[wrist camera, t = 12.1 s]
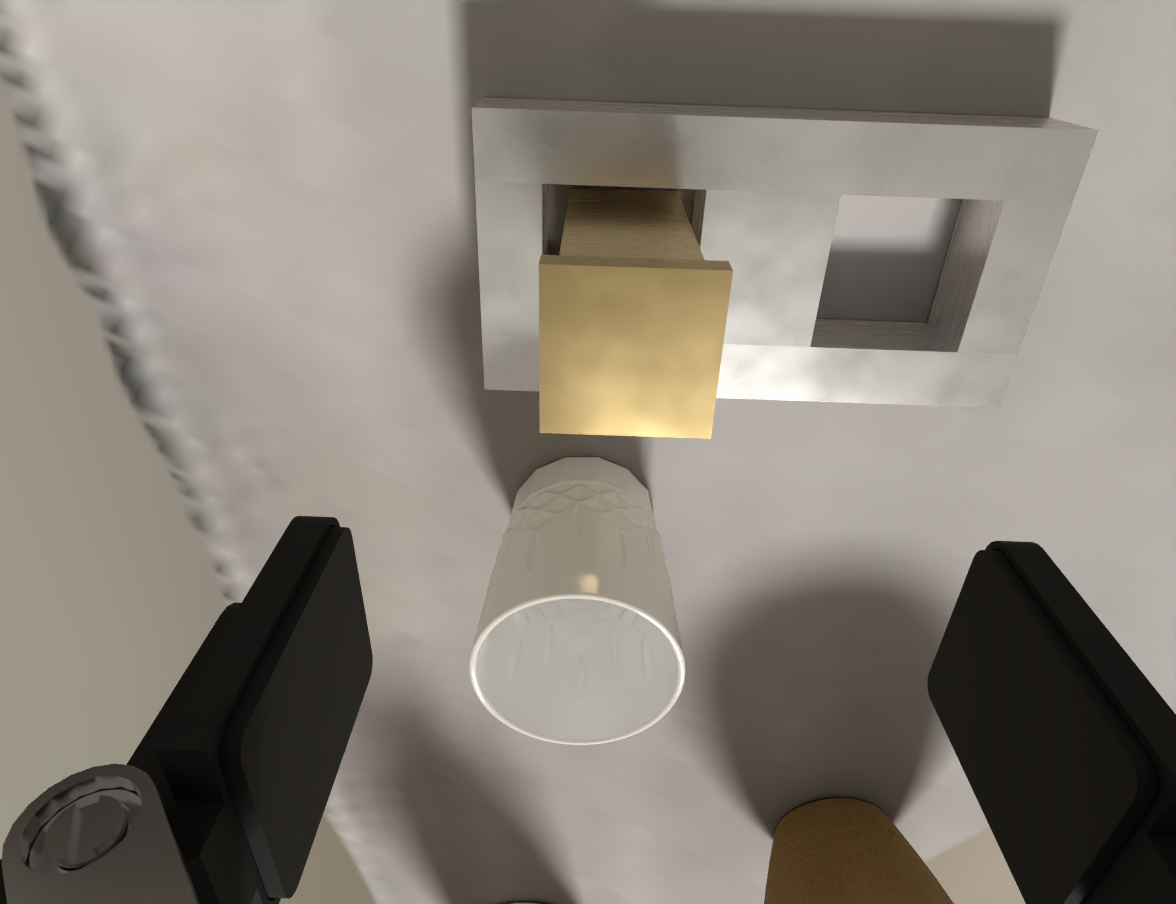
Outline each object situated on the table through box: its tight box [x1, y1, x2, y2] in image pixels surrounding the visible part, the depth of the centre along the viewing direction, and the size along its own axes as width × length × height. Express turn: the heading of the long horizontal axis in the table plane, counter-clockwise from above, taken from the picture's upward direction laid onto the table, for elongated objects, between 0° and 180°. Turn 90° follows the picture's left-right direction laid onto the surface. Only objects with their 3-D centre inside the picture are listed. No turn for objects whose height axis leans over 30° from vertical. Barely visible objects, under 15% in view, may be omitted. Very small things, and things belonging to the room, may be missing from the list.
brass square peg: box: [539, 188, 733, 439], centre depth 24 cm, size 5×5×11 cm
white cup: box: [469, 457, 685, 745], centre depth 31 cm, size 8×8×10 cm
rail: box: [471, 97, 1098, 408], centre depth 27 cm, size 20×10×3 cm, turn 88°
